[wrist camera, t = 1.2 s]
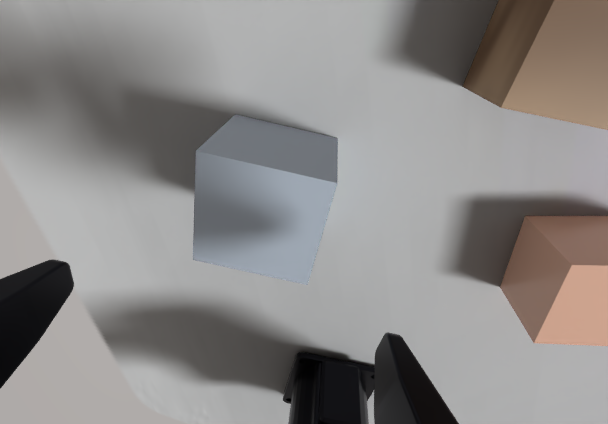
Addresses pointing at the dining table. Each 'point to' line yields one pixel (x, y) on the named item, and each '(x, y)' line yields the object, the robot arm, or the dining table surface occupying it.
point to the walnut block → (546, 60)
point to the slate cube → (263, 197)
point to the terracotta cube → (561, 279)
